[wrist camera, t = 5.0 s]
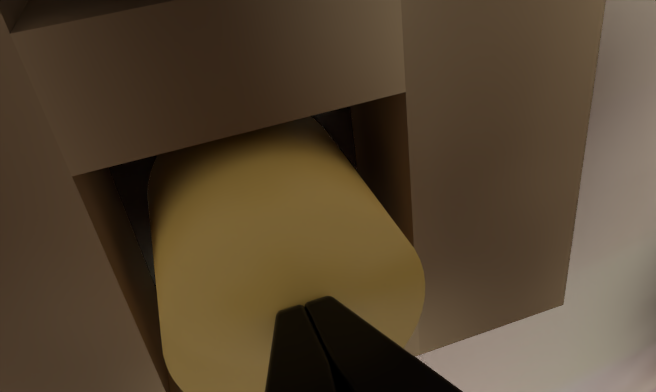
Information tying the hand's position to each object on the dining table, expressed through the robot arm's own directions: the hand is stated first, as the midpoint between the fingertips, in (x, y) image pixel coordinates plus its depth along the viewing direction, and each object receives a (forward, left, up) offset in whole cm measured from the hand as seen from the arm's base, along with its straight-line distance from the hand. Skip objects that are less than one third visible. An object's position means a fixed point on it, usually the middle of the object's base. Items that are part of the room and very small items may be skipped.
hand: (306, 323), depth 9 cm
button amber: (0, 0, -4) cm, 4 cm away
